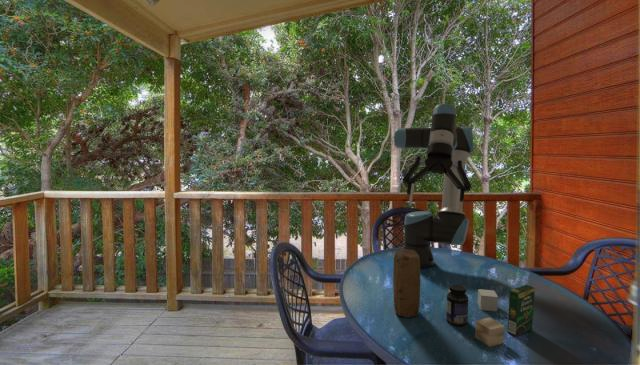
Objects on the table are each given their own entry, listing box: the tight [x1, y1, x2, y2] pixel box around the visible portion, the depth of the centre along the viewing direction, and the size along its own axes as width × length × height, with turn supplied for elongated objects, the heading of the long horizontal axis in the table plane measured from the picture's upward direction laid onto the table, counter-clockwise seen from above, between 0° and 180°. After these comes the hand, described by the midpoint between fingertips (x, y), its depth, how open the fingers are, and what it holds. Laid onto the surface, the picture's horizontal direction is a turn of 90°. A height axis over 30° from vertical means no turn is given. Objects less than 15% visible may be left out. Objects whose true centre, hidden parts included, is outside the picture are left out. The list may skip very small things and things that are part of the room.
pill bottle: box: [445, 283, 469, 327], centre depth 105 cm, size 6×6×11 cm
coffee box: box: [507, 284, 536, 338], centre depth 99 cm, size 8×3×13 cm, turn 118°
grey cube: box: [477, 288, 499, 312], centre depth 114 cm, size 5×5×5 cm
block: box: [392, 248, 421, 318], centre depth 111 cm, size 11×8×20 cm
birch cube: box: [474, 317, 505, 348], centre depth 95 cm, size 5×5×5 cm
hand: (433, 207), depth 104 cm, fingers open, 13 cm apart
